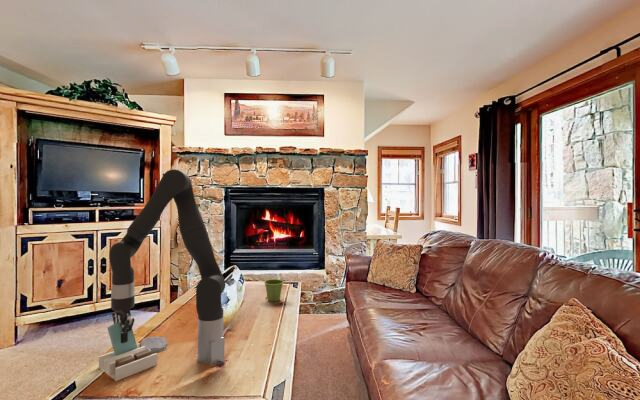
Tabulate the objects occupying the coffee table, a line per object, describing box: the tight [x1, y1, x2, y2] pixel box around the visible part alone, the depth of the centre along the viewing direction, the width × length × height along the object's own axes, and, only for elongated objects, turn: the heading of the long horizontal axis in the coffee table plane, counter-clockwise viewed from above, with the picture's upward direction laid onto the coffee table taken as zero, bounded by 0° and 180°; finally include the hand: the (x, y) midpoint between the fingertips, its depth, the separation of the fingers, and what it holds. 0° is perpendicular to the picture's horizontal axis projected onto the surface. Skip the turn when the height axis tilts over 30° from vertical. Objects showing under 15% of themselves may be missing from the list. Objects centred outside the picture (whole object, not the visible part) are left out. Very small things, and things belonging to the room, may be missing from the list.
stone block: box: [140, 335, 168, 353], centre depth 139 cm, size 12×5×10 cm
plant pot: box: [263, 278, 285, 303], centre depth 207 cm, size 12×12×11 cm
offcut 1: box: [115, 355, 135, 368], centre depth 119 cm, size 3×5×5 cm, turn 143°
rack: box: [98, 342, 158, 382], centre depth 124 cm, size 14×14×6 cm
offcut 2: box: [134, 349, 153, 361], centre depth 123 cm, size 3×5×5 cm, turn 143°
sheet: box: [107, 322, 137, 356], centre depth 126 cm, size 2×7×14 cm, turn 144°
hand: (122, 341), depth 126 cm, fingers closed on sheet, 2 cm apart
